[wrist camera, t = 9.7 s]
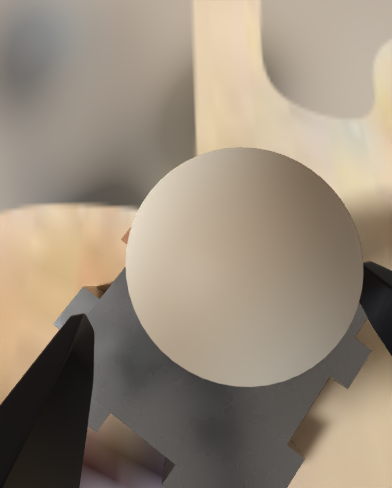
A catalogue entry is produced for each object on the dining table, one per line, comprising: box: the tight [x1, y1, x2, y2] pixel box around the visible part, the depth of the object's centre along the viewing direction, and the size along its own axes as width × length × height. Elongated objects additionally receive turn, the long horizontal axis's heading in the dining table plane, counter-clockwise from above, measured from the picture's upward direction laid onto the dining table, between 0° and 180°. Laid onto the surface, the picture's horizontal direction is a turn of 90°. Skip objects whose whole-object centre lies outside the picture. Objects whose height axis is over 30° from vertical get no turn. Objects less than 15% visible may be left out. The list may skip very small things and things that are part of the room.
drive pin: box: [125, 147, 363, 387], centre depth 12 cm, size 4×4×14 cm
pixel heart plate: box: [53, 228, 372, 488], centre depth 17 cm, size 15×15×2 cm
